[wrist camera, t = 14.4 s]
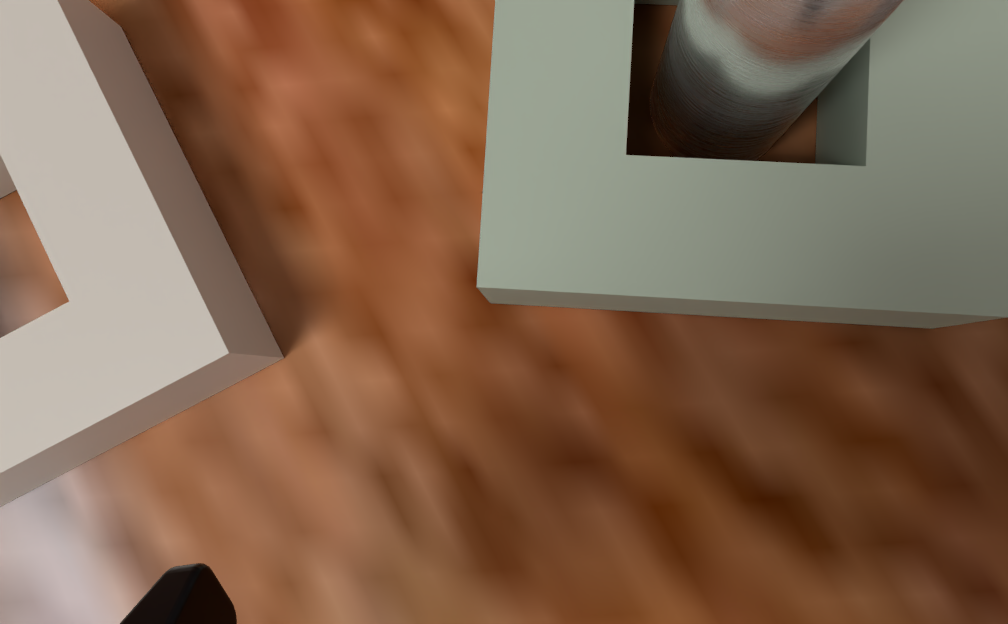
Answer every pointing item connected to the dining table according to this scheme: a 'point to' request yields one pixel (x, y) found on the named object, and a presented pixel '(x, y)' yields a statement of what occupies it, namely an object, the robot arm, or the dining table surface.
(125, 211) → the socket block
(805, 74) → the metal cylinder
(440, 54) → the dining table surface
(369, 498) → the dining table surface
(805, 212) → the block
